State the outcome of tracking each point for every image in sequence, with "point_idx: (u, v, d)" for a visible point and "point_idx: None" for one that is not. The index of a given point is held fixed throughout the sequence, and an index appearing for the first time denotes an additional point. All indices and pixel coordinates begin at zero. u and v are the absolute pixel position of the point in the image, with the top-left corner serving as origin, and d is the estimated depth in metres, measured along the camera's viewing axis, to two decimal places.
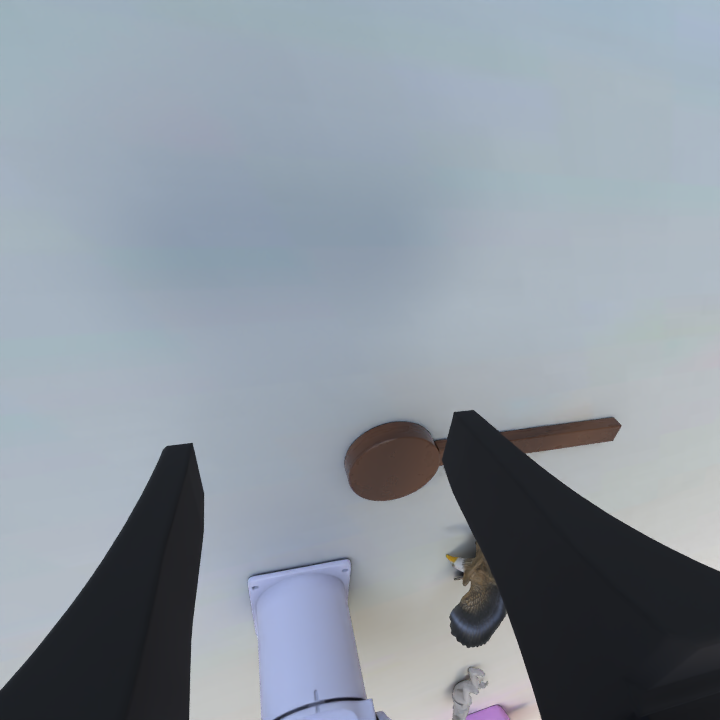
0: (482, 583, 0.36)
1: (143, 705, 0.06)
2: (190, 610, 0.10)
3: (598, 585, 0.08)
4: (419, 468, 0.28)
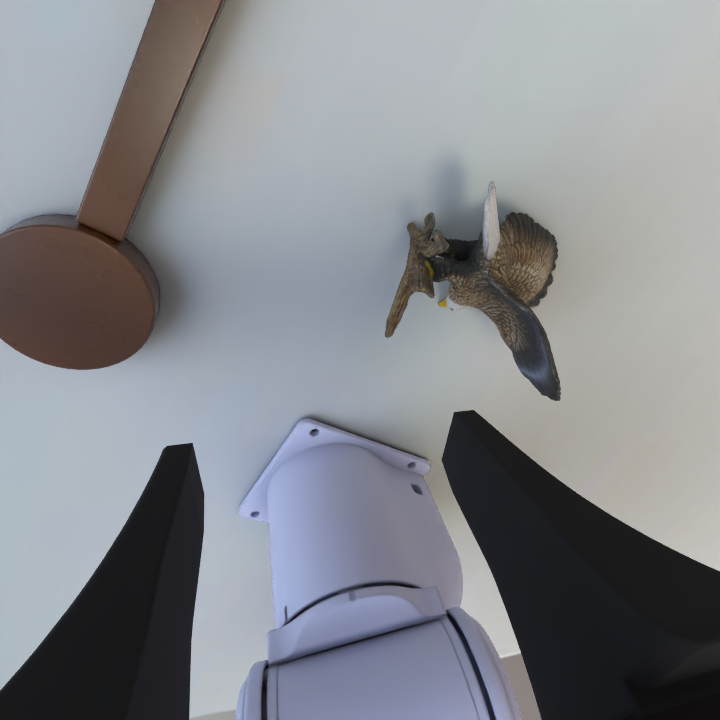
0: (482, 297, 0.18)
1: (143, 705, 0.06)
2: (190, 610, 0.10)
3: (598, 586, 0.08)
4: (86, 270, 0.16)
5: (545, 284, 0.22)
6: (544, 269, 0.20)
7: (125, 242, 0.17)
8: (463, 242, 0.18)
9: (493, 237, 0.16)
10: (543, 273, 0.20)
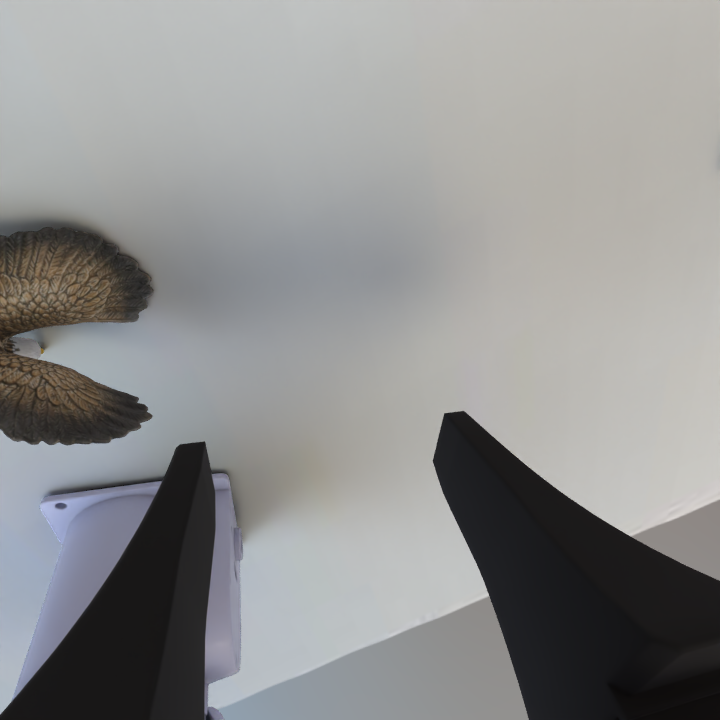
0: None
1: (165, 700, 0.06)
2: (204, 607, 0.10)
3: (583, 589, 0.08)
4: None
5: (124, 271, 0.17)
6: (41, 283, 0.15)
7: None
8: None
9: None
10: (47, 286, 0.15)
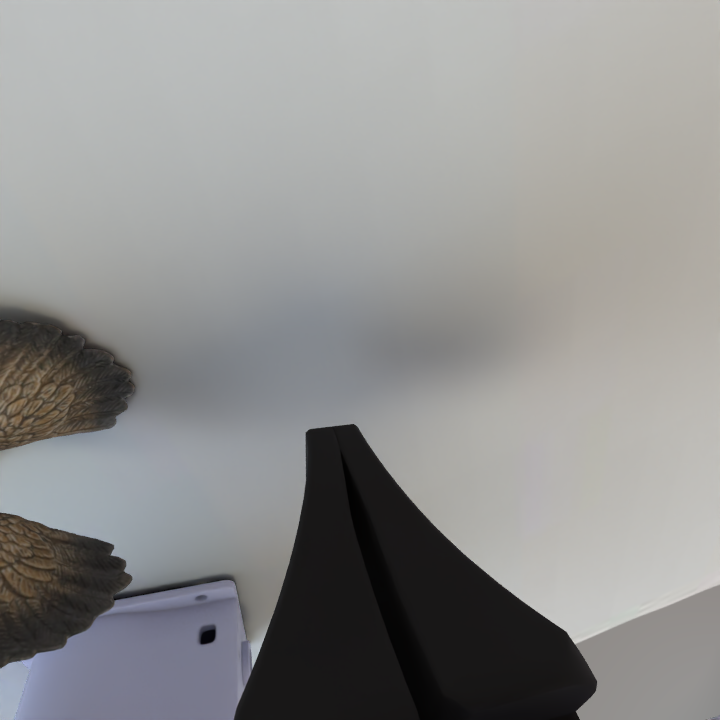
0: None
1: None
2: None
3: (407, 630, 0.07)
4: None
5: (94, 369, 0.12)
6: None
7: None
8: None
9: None
10: None
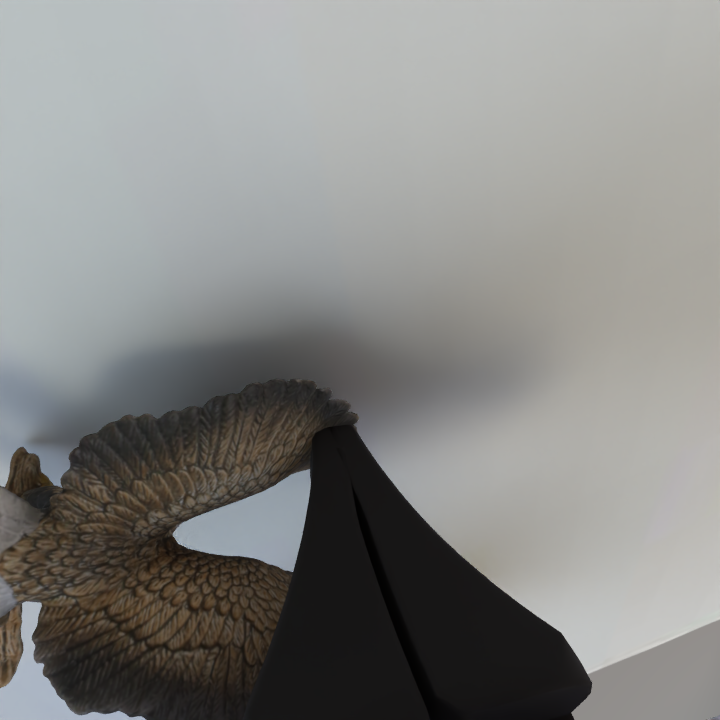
0: None
1: None
2: None
3: (402, 631, 0.07)
4: None
5: (333, 418, 0.12)
6: (242, 471, 0.10)
7: None
8: None
9: None
10: (249, 473, 0.10)
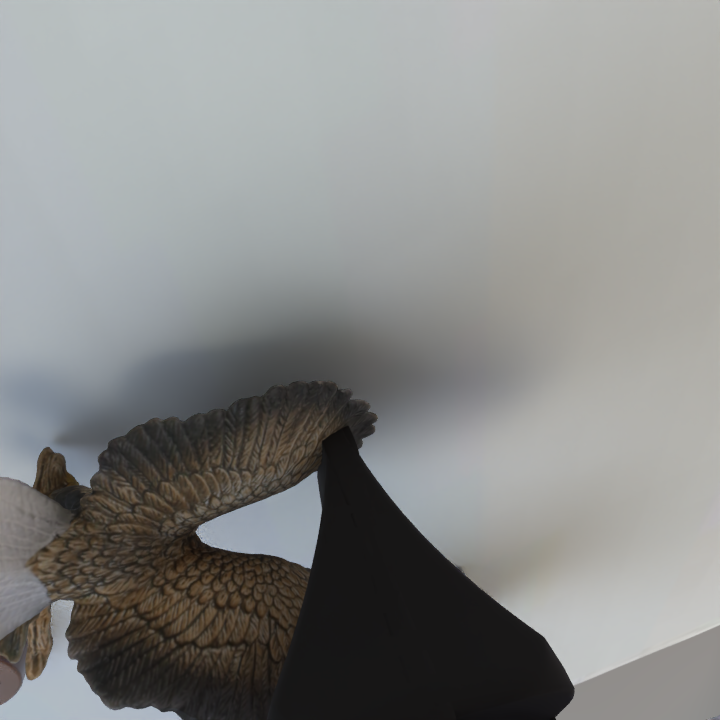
0: None
1: None
2: None
3: (385, 634, 0.07)
4: None
5: (352, 418, 0.12)
6: (266, 472, 0.10)
7: None
8: (72, 510, 0.10)
9: (1, 600, 0.08)
10: (273, 474, 0.10)
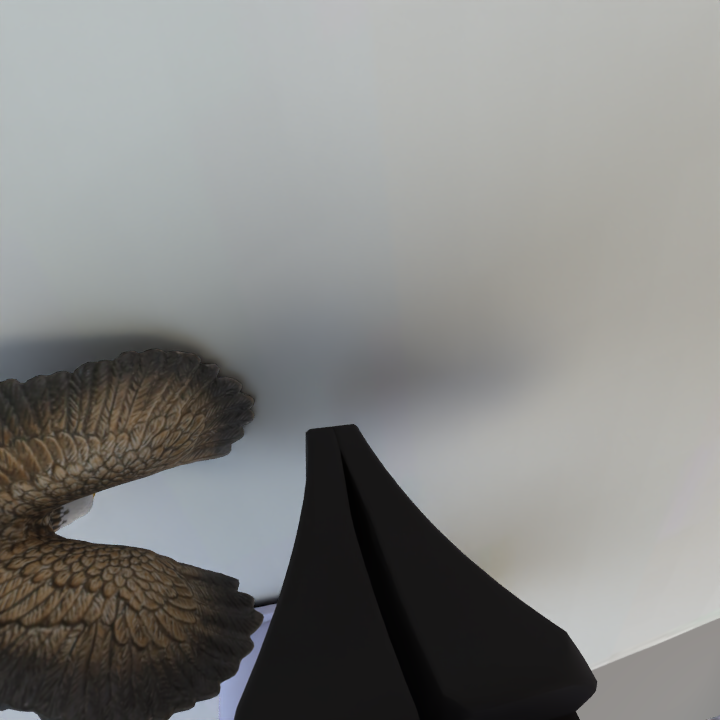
0: None
1: None
2: None
3: (407, 629, 0.07)
4: None
5: (224, 398, 0.12)
6: (118, 439, 0.10)
7: None
8: None
9: None
10: (126, 443, 0.10)
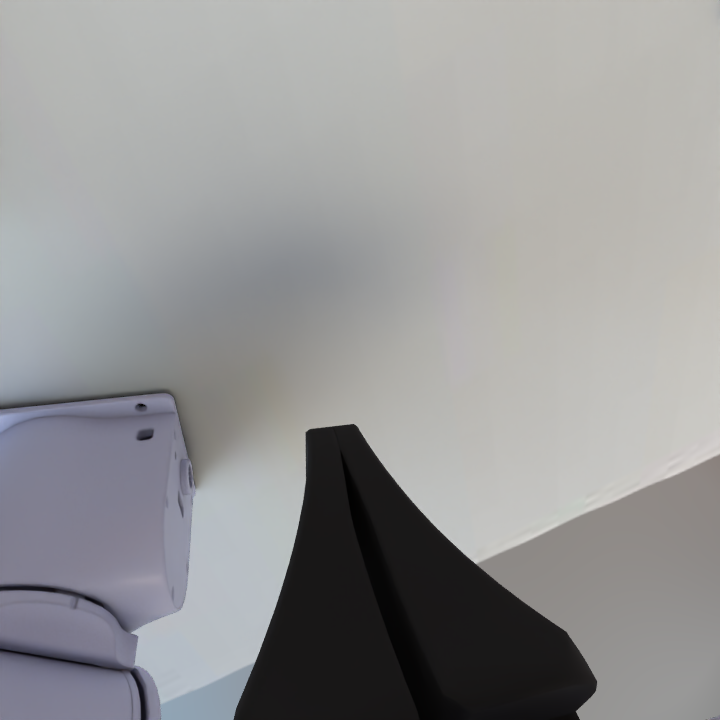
0: None
1: None
2: None
3: (407, 629, 0.07)
4: None
5: None
6: None
7: None
8: None
9: None
10: None
